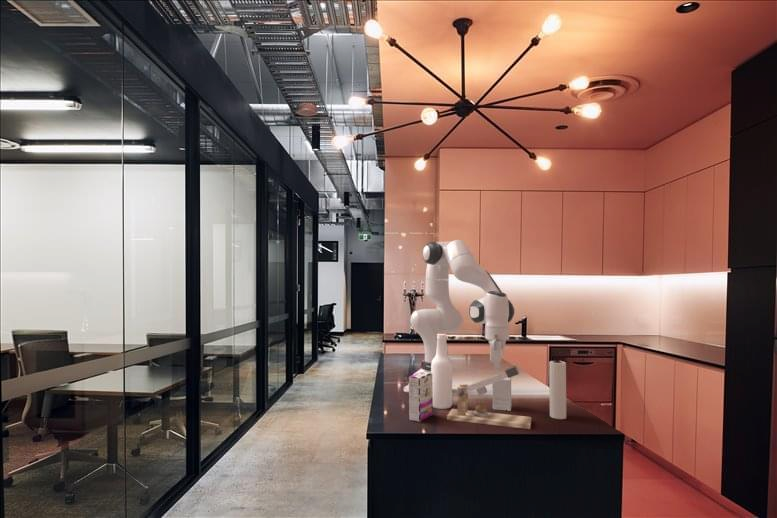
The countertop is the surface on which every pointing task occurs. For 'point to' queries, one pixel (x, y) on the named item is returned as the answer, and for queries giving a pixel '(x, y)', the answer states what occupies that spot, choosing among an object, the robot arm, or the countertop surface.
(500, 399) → the supplement box
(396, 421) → the countertop surface
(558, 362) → the paper towel roll
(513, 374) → the lever
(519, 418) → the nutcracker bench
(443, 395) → the alcohol
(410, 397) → the candy bar box
